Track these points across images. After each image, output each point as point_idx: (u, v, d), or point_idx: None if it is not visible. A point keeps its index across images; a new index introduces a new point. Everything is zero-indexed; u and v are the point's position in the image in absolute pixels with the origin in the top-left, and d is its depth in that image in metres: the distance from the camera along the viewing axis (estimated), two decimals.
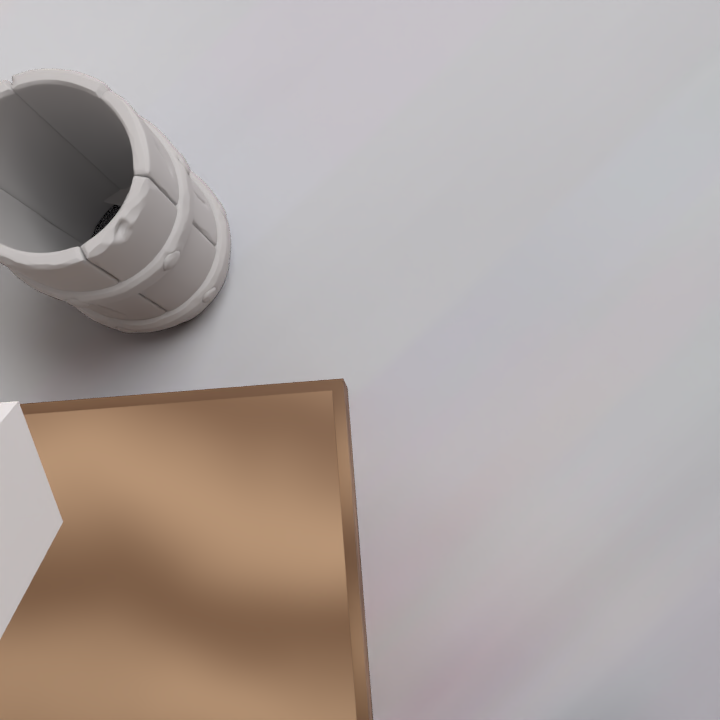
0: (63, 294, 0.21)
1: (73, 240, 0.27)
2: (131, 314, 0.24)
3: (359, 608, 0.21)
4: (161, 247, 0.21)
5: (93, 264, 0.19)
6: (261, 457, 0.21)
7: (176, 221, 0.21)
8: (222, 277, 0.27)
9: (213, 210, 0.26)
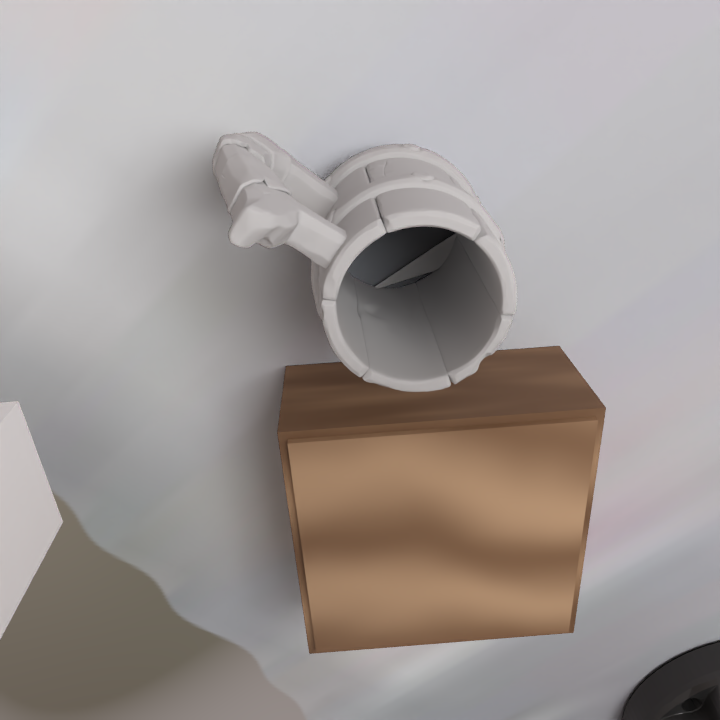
0: None
1: None
2: None
3: (584, 544, 0.30)
4: None
5: None
6: (534, 464, 0.27)
7: None
8: None
9: None
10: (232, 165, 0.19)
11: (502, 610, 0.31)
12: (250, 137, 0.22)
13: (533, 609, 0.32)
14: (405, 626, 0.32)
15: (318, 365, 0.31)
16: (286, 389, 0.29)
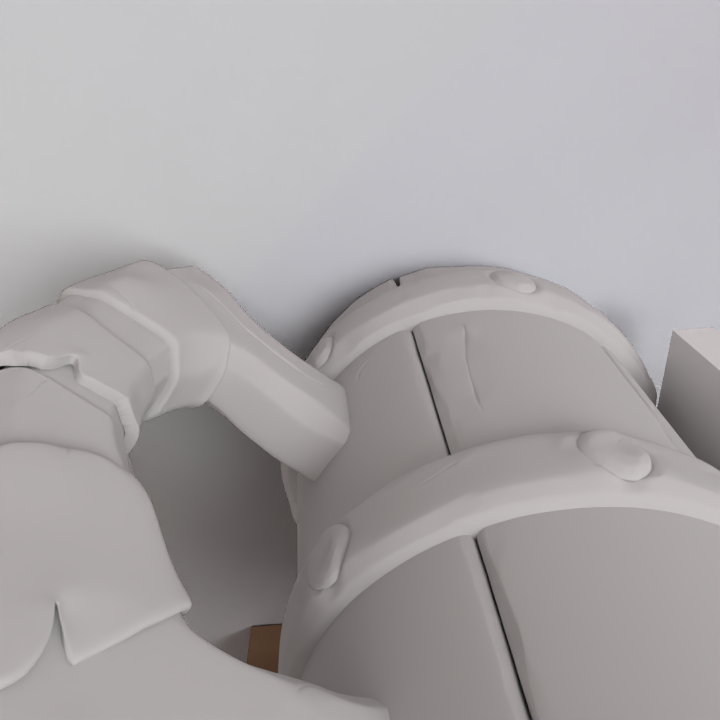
0: None
1: None
2: None
3: None
4: None
5: None
6: None
7: None
8: None
9: None
10: None
11: None
12: (111, 301, 0.08)
13: None
14: None
15: None
16: None
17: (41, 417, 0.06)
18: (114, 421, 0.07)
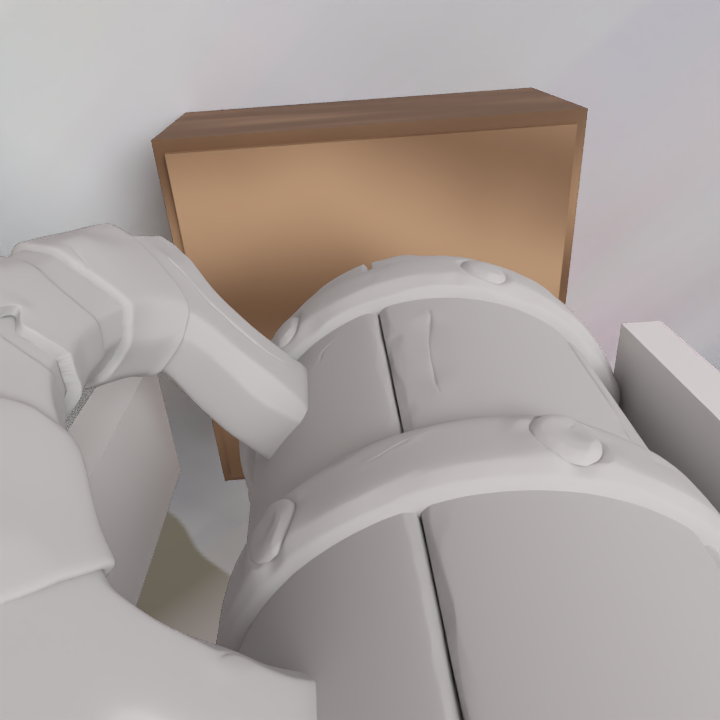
0: None
1: None
2: None
3: None
4: None
5: None
6: (495, 195, 0.21)
7: None
8: None
9: None
10: None
11: None
12: (65, 259, 0.08)
13: None
14: None
15: (227, 110, 0.25)
16: (178, 121, 0.23)
17: None
18: (54, 376, 0.06)
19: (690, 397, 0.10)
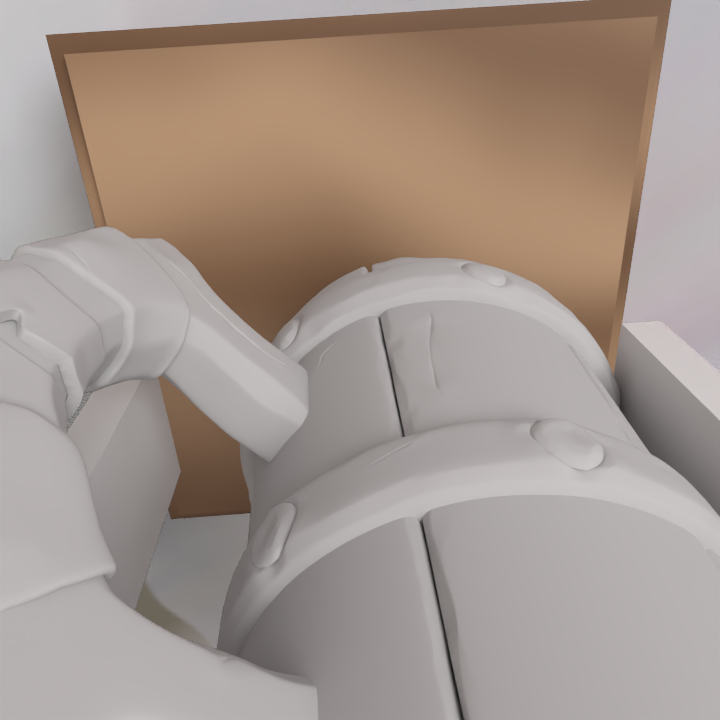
0: None
1: None
2: None
3: (621, 313, 0.18)
4: None
5: None
6: (537, 124, 0.15)
7: None
8: None
9: None
10: None
11: None
12: (65, 262, 0.08)
13: None
14: None
15: None
16: None
17: None
18: (55, 381, 0.06)
19: (690, 397, 0.10)
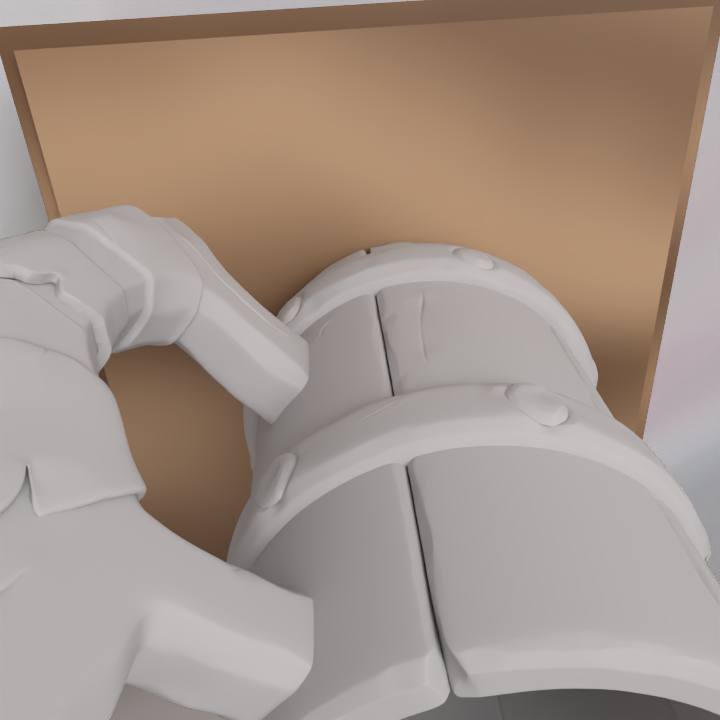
0: None
1: None
2: None
3: (658, 345, 0.16)
4: None
5: None
6: (568, 132, 0.13)
7: None
8: None
9: None
10: None
11: None
12: (94, 235, 0.09)
13: None
14: None
15: None
16: None
17: (23, 322, 0.07)
18: (89, 336, 0.07)
19: None
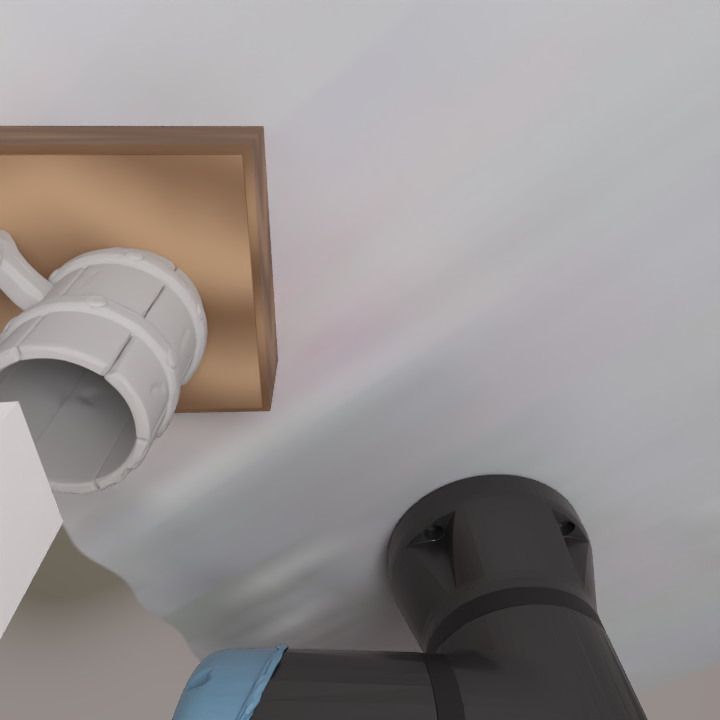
0: None
1: None
2: None
3: (262, 306, 0.31)
4: None
5: None
6: (189, 203, 0.28)
7: (166, 412, 0.25)
8: None
9: (193, 320, 0.29)
10: None
11: None
12: None
13: (221, 377, 0.33)
14: None
15: (23, 126, 0.32)
16: None
17: None
18: None
19: None
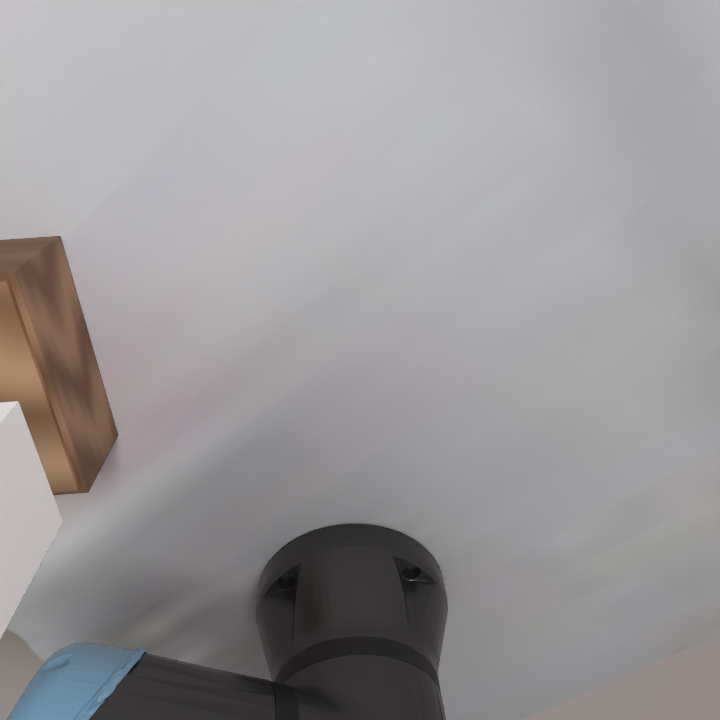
0: None
1: None
2: None
3: (58, 404, 0.34)
4: None
5: None
6: None
7: None
8: None
9: None
10: None
11: None
12: None
13: None
14: None
15: None
16: None
17: None
18: None
19: None
